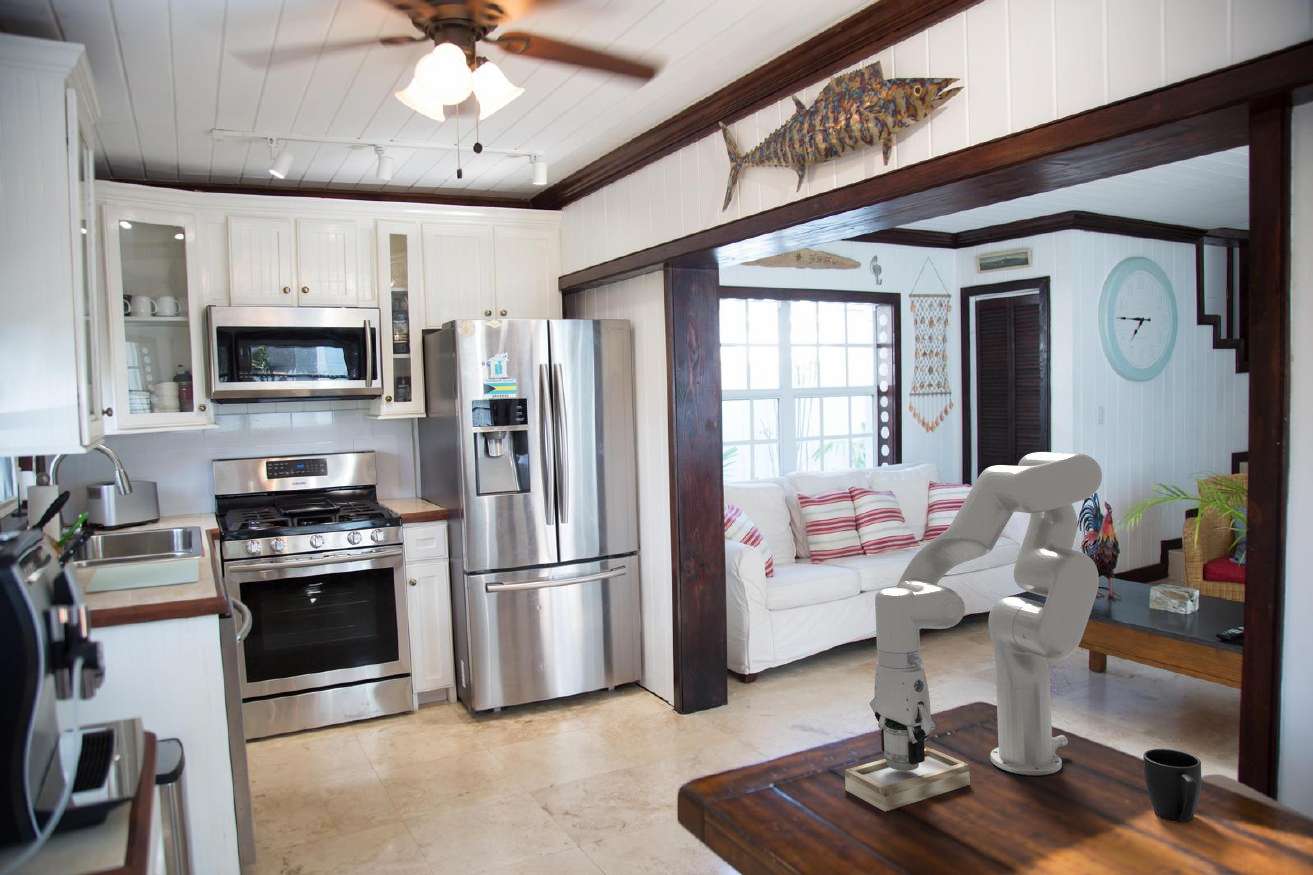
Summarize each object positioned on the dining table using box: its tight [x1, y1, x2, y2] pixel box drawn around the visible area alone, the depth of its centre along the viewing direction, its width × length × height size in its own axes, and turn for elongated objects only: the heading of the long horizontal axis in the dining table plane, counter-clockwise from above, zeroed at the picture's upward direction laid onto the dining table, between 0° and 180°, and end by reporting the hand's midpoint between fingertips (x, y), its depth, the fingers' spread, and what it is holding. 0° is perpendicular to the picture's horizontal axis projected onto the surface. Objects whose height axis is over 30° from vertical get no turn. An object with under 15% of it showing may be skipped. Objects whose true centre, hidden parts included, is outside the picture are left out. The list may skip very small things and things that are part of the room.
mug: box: [1142, 748, 1202, 824], centre depth 144 cm, size 8×12×10 cm
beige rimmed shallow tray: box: [844, 746, 971, 812], centre depth 161 cm, size 20×10×4 cm, turn 117°
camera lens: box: [883, 720, 919, 771], centre depth 160 cm, size 6×6×8 cm
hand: (902, 755), depth 160 cm, fingers closed on camera lens, 6 cm apart
